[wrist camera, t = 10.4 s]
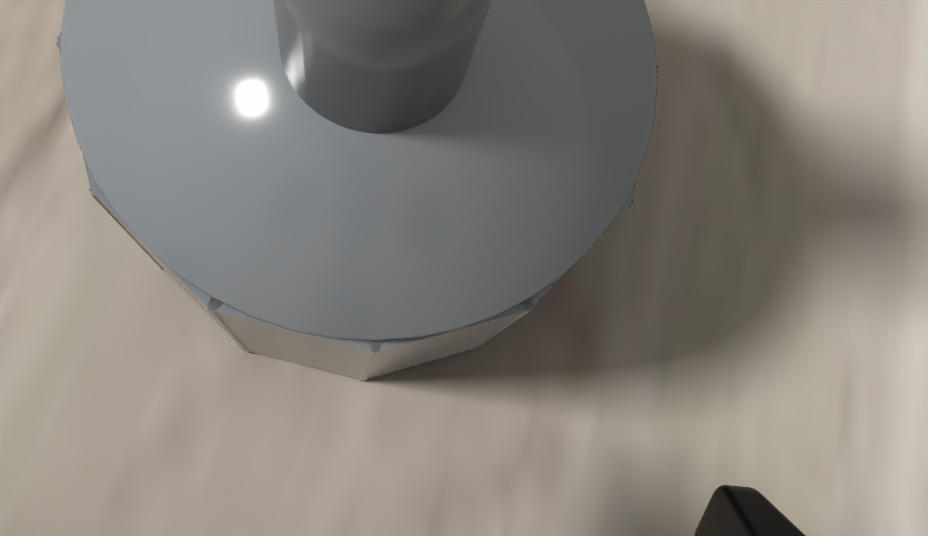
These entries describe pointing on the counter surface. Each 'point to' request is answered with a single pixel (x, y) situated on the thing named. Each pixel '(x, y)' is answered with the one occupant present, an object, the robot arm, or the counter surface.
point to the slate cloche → (361, 158)
